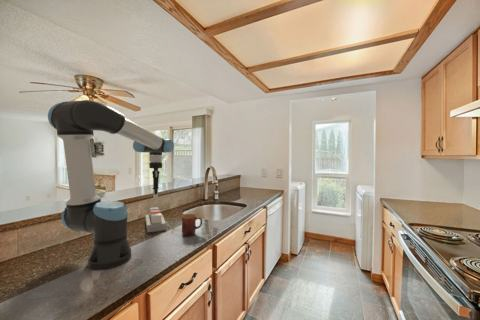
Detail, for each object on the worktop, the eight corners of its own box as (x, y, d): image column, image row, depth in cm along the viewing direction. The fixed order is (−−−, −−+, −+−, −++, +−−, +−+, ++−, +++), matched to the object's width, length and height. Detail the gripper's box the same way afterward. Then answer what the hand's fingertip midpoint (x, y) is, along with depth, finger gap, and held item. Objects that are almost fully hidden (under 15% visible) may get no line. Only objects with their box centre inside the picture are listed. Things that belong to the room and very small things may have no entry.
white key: (151, 223, 116) (152, 216, 116) (151, 221, 120) (151, 213, 120) (161, 222, 118) (161, 215, 118) (160, 220, 123) (160, 213, 123)
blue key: (150, 216, 129) (150, 209, 129) (149, 214, 134) (149, 207, 134) (158, 215, 132) (158, 208, 132) (157, 213, 136) (158, 207, 136)
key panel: (147, 232, 114) (147, 225, 114) (145, 220, 134) (145, 214, 134) (166, 229, 118) (166, 223, 118) (161, 219, 139) (161, 213, 139)
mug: (177, 236, 108) (178, 217, 108) (184, 231, 117) (184, 213, 117) (199, 238, 107) (199, 218, 107) (204, 232, 116) (204, 214, 116)
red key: (151, 219, 123) (151, 212, 123) (150, 217, 127) (150, 210, 127) (159, 218, 125) (159, 211, 125) (159, 216, 129) (159, 209, 129)
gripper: (163, 162, 124) (163, 200, 124) (161, 161, 135) (161, 196, 136) (149, 162, 120) (149, 201, 121) (148, 161, 132) (148, 197, 132)
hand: (155, 198), depth 128 cm, fingers closed
